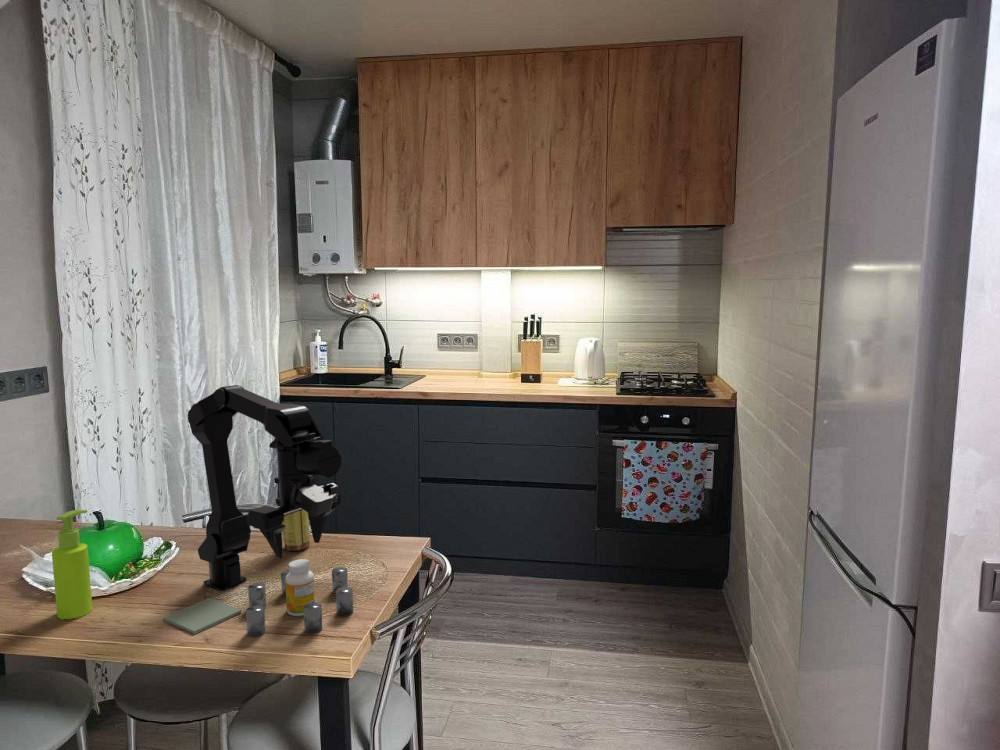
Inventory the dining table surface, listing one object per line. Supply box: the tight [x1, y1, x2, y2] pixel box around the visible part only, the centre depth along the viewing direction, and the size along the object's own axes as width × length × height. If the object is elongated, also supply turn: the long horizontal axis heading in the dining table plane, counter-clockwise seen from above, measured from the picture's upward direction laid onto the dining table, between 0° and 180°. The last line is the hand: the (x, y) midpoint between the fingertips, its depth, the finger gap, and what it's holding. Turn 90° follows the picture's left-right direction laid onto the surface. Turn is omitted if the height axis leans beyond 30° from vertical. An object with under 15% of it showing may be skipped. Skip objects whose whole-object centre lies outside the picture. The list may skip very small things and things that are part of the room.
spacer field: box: [245, 566, 354, 638], centre depth 133 cm, size 19×24×4 cm
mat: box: [162, 597, 242, 635], centre depth 131 cm, size 10×10×1 cm
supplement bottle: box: [285, 558, 316, 617], centre depth 133 cm, size 5×5×10 cm
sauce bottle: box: [282, 508, 311, 552], centre depth 165 cm, size 7×6×20 cm
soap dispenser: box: [51, 509, 93, 620], centre depth 132 cm, size 6×7×20 cm
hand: (298, 549), depth 132 cm, fingers open, 9 cm apart
